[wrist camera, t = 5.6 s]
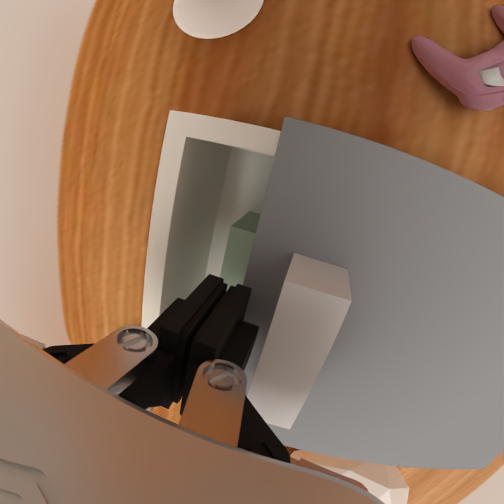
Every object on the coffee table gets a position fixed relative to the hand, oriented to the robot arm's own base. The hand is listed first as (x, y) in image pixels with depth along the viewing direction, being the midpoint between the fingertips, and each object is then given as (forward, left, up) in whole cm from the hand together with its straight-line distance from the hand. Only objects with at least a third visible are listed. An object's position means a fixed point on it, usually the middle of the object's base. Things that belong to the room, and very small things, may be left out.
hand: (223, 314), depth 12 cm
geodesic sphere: (+19, +12, -10) cm, 25 cm away
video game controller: (-17, +11, -10) cm, 22 cm away
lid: (0, +10, -2) cm, 10 cm away
